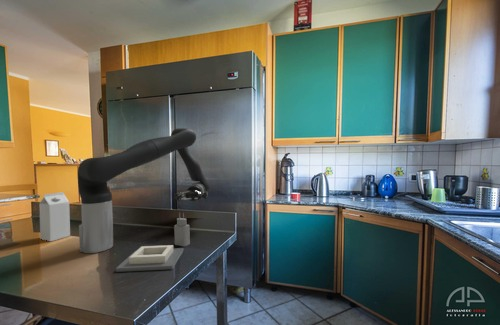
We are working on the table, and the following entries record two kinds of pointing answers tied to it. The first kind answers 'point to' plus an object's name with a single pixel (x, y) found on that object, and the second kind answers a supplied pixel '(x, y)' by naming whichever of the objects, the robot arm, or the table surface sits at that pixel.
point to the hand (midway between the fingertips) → (188, 198)
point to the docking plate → (151, 258)
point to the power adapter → (182, 232)
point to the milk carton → (54, 217)
